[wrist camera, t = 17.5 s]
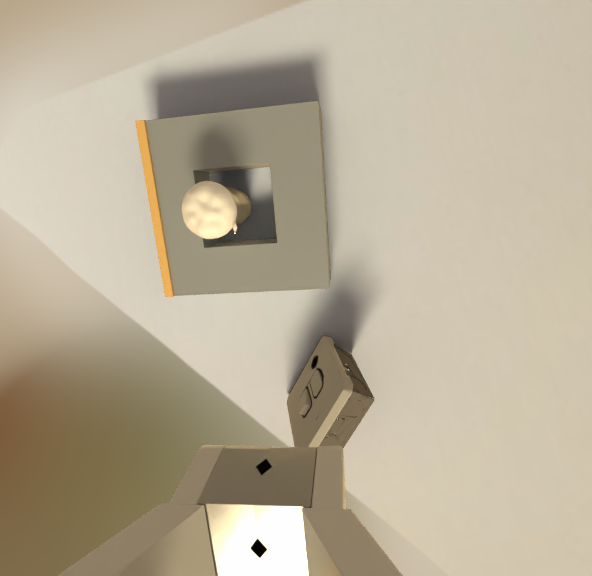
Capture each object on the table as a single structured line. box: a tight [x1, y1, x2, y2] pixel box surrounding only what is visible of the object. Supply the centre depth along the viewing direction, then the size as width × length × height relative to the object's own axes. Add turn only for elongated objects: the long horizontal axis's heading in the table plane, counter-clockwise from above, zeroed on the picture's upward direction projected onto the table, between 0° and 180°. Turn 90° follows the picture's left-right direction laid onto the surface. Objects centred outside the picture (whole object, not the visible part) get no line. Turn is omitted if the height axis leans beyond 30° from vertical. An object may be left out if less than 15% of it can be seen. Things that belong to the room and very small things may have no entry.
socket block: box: [135, 101, 331, 297], centre depth 36 cm, size 16×16×4 cm
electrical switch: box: [287, 336, 374, 448], centre depth 37 cm, size 9×5×9 cm, turn 154°
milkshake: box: [182, 181, 252, 239], centre depth 33 cm, size 4×5×10 cm
